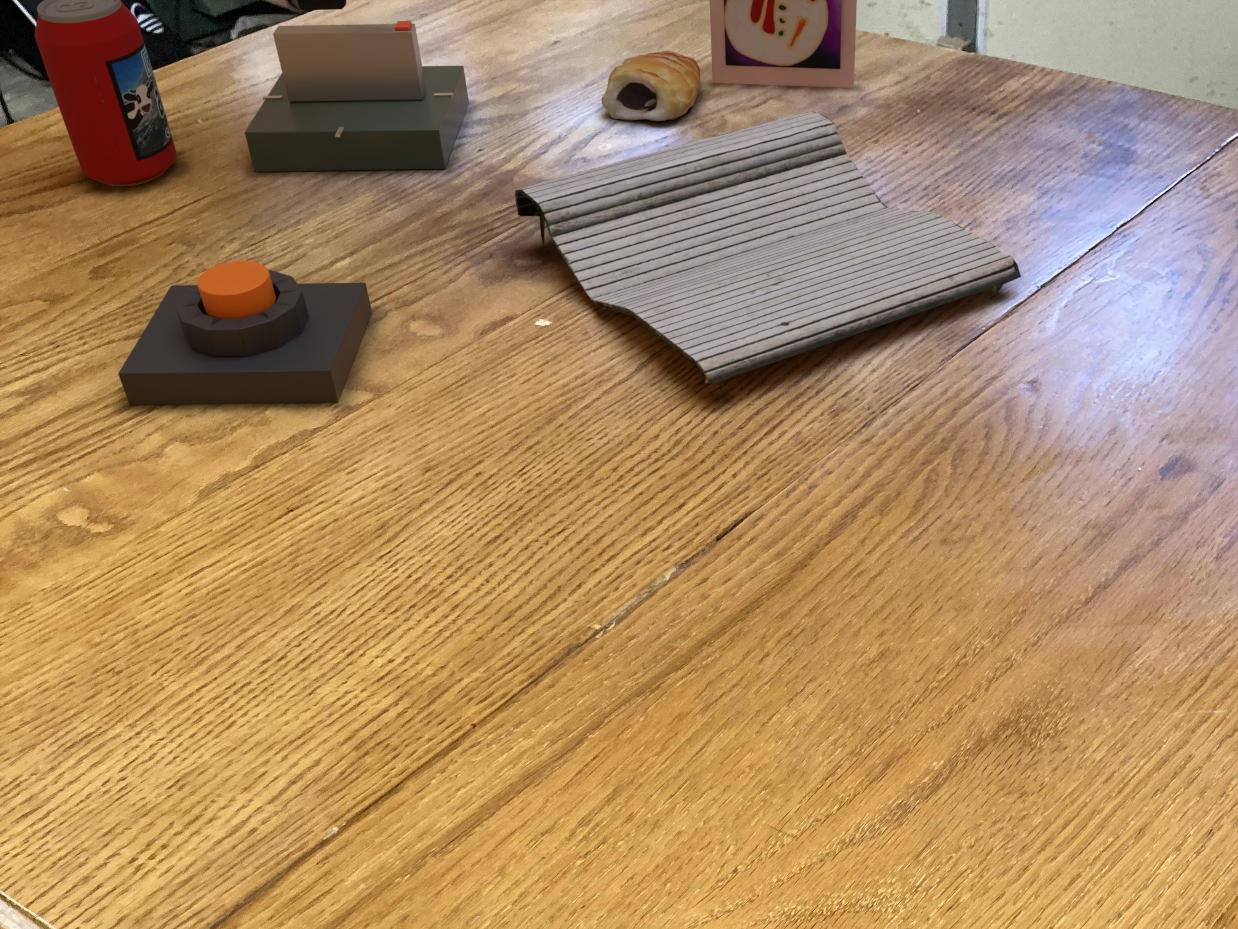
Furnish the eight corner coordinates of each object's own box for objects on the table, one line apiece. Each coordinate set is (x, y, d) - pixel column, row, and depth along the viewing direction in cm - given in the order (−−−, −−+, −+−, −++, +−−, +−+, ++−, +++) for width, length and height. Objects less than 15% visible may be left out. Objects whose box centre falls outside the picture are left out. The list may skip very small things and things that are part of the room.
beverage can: (184, 182, 103) (134, 11, 95) (86, 199, 101) (26, 27, 93) (176, 145, 108) (127, -20, 100) (82, 161, 106) (24, -6, 98)
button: (196, 322, 81) (188, 295, 80) (216, 287, 84) (208, 260, 83) (266, 321, 81) (258, 294, 80) (283, 286, 84) (276, 259, 83)
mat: (707, 413, 80) (704, 339, 77) (519, 249, 95) (510, 182, 92) (1021, 294, 89) (1029, 224, 86) (805, 161, 104) (805, 98, 101)
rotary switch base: (249, 179, 103) (237, 136, 101) (295, 100, 114) (285, 60, 112) (444, 176, 103) (437, 133, 101) (472, 97, 114) (466, 57, 112)
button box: (129, 406, 82) (107, 345, 79) (181, 316, 89) (162, 258, 86) (338, 403, 81) (323, 342, 79) (372, 313, 89) (359, 255, 86)
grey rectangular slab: (288, 102, 106) (271, 30, 102) (293, 93, 107) (277, 22, 104) (423, 100, 106) (410, 27, 102) (426, 91, 107) (414, 20, 103)
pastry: (643, 73, 117) (640, 26, 114) (721, 84, 115) (720, 36, 112) (597, 119, 110) (593, 69, 108) (679, 130, 108) (677, 80, 106)
